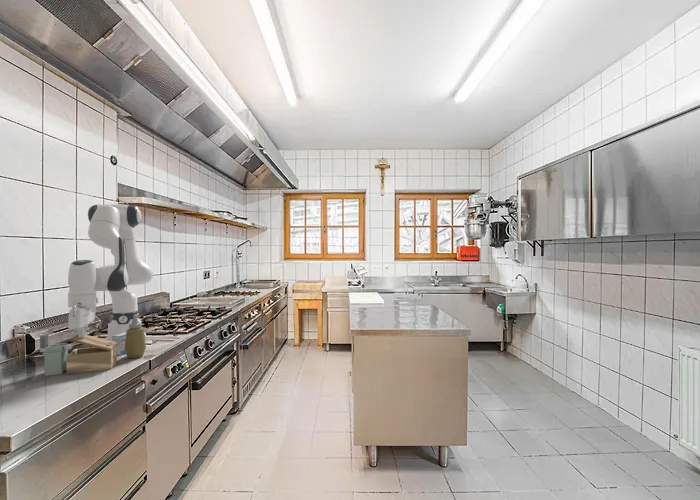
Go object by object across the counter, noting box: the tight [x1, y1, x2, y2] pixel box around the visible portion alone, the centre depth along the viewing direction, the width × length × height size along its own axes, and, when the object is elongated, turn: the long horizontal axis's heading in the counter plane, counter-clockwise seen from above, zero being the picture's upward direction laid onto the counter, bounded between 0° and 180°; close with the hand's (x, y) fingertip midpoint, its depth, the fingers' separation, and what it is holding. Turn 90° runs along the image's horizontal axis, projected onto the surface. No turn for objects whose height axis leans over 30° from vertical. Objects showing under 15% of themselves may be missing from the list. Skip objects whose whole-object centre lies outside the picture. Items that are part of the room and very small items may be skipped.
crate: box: [66, 345, 118, 375], centre depth 138 cm, size 10×14×7 cm
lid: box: [69, 333, 117, 350], centre depth 138 cm, size 10×14×1 cm
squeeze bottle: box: [124, 315, 147, 359], centre depth 152 cm, size 8×8×18 cm
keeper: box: [44, 342, 69, 377], centre depth 133 cm, size 7×5×10 cm
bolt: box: [39, 334, 73, 353], centre depth 133 cm, size 3×9×6 cm, turn 113°
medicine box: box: [112, 332, 126, 356], centre depth 158 cm, size 8×4×9 cm, turn 168°
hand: (82, 337), depth 136 cm, fingers closed
